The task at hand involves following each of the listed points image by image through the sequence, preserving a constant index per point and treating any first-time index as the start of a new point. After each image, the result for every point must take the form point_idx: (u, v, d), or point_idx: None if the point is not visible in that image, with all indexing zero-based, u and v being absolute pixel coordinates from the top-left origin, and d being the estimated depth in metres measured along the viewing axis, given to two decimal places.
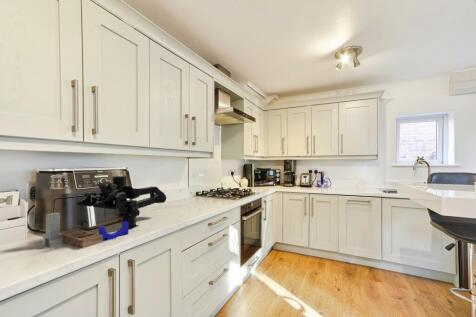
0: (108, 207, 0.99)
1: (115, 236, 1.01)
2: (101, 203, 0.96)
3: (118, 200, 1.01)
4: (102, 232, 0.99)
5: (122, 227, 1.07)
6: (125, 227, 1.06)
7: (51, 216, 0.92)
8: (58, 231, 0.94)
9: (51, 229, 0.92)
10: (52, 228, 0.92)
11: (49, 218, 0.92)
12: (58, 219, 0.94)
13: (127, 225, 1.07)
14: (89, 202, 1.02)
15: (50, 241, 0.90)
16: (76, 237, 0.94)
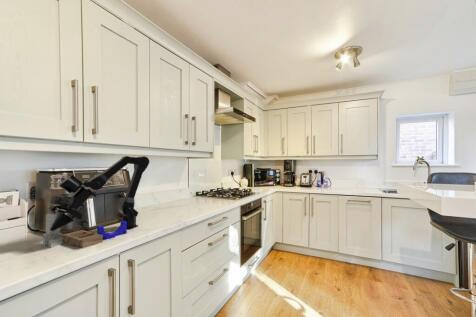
0: (69, 221, 0.95)
1: (114, 235, 1.02)
2: (58, 224, 0.93)
3: (76, 213, 0.93)
4: (101, 231, 1.00)
5: (120, 226, 1.08)
6: (123, 226, 1.07)
7: (51, 216, 0.92)
8: (58, 231, 0.94)
9: None
10: None
11: (49, 218, 0.92)
12: None
13: (125, 224, 1.08)
14: None
15: (50, 241, 0.90)
16: (76, 237, 0.94)
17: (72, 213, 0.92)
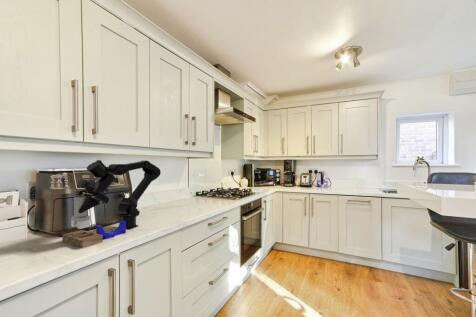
0: (95, 204, 0.99)
1: (113, 235, 1.03)
2: (85, 206, 0.96)
3: (102, 196, 0.96)
4: (100, 231, 1.00)
5: (119, 226, 1.08)
6: (122, 226, 1.08)
7: (79, 199, 0.95)
8: (85, 214, 0.97)
9: None
10: None
11: (77, 201, 0.95)
12: None
13: (124, 224, 1.09)
14: None
15: (79, 223, 0.94)
16: (76, 237, 0.94)
17: (99, 196, 0.95)
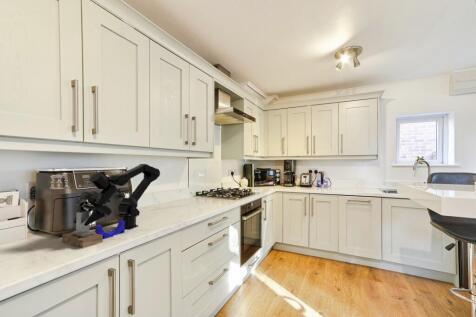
0: (100, 217, 0.98)
1: (112, 234, 1.04)
2: (90, 219, 0.95)
3: (105, 208, 0.96)
4: (99, 231, 1.00)
5: (118, 226, 1.09)
6: (121, 226, 1.09)
7: (81, 214, 0.95)
8: (88, 229, 0.97)
9: (82, 226, 0.95)
10: (82, 225, 0.95)
11: (80, 216, 0.95)
12: (88, 217, 0.97)
13: (123, 224, 1.09)
14: None
15: None
16: (76, 237, 0.94)
17: (102, 208, 0.95)
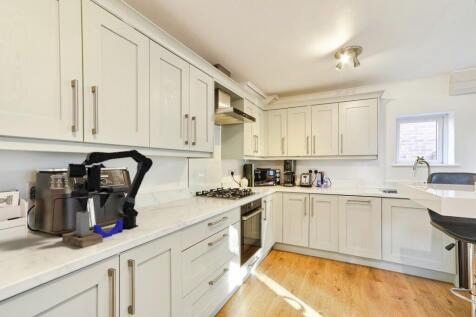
0: (84, 200, 1.00)
1: (110, 234, 1.04)
2: (81, 205, 1.02)
3: (73, 194, 0.98)
4: (98, 230, 1.01)
5: (116, 225, 1.10)
6: (119, 225, 1.10)
7: (81, 214, 0.95)
8: (88, 229, 0.97)
9: (82, 226, 0.95)
10: (82, 225, 0.95)
11: (80, 216, 0.95)
12: (88, 217, 0.97)
13: (121, 223, 1.10)
14: (103, 195, 1.12)
15: None
16: (76, 237, 0.94)
17: (71, 195, 0.99)
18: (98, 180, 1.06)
